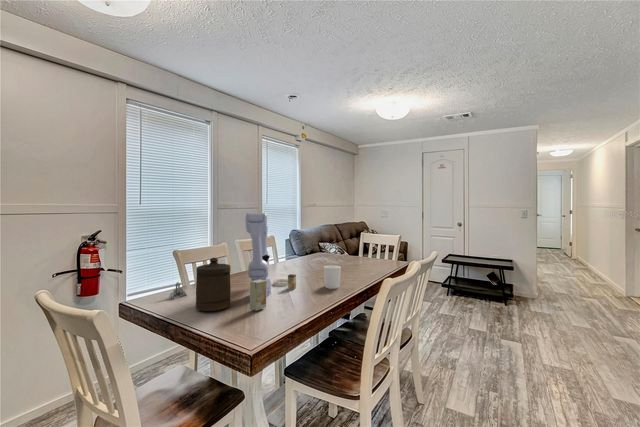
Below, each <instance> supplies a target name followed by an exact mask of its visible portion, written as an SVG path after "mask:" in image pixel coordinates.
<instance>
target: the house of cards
mask: <svg viewBox="0 0 640 427" xmlns="http://www.w3.org/2000/svg"><path fill="white" fill-rule="evenodd" d="M184 297H187V293H186V292H185V291H184V289H183V288H182V287H181V283H180V282H176V283H175V289H173V290H172V292H171V293H170V294H169V300H173V301H175V300H177V299H181V298H184Z"/></svg>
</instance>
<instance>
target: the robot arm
mask: <svg viewBox="0 0 640 427" xmlns="http://www.w3.org/2000/svg"><path fill="white" fill-rule="evenodd" d="M244 218H245V229H246V232H247V233H248V234H249V235H250V238H251V245H252V246H251V247H252V260H251V261H249V264H248V271H247V274H248V277H249V278H250V280H251V281H255V280H260V279H261V280H266V298H268V297H269V296H270V295H272V293H271V292H272V291H271V290H272V286H271V285H272V284H271V283H272V282H271V279H270V278H268V276H269V264H268V261H269V259H270V256H271V255H269V251H267V250H268V249H267V243H268V242H267V238H268V229H269V228H268V225H267V224H268V215H267V213H266V212H264V213H262V212H261V213H260V212H259V213H258V212H257V213H256V212H255V213H253V212H252V213H249V212H247V213H245V217H244ZM251 281H250V282H251ZM247 297H249V298H250V294H248V296H247Z"/></svg>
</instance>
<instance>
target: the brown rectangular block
mask: <svg viewBox="0 0 640 427" xmlns="http://www.w3.org/2000/svg"><path fill="white" fill-rule="evenodd" d="M287 279H288V285H287V290H289V291H294V290H295V289H296V288H297V275H296V274H293V273H292V274H291V273H290V274H288V275H287Z"/></svg>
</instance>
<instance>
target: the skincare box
mask: <svg viewBox="0 0 640 427" xmlns="http://www.w3.org/2000/svg"><path fill="white" fill-rule="evenodd" d="M249 287H250V289H249V290H250V291H249V292H250V294H249V295H250V297H249V309H250V310H252V311H259V310H262V309H265V308H267V297H266V280H261V279H260V280H255V281H250V285H249Z"/></svg>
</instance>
